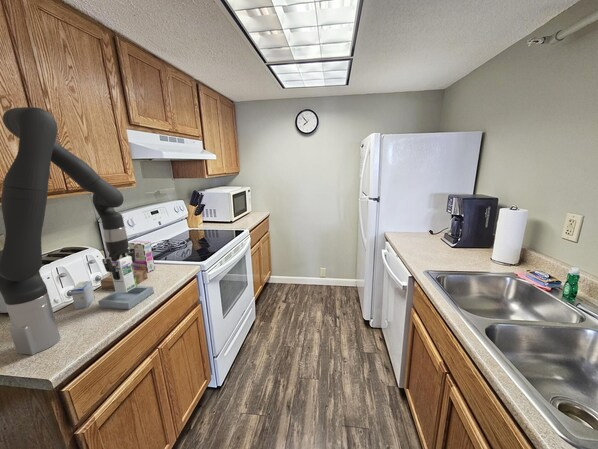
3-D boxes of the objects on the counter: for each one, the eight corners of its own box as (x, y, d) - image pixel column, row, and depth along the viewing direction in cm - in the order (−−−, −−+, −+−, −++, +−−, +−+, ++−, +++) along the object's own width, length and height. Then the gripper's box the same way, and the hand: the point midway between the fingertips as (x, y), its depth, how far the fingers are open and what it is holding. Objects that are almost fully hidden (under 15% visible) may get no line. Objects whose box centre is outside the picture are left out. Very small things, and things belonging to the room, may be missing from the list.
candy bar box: (155, 269, 142) (151, 241, 138) (147, 273, 137) (143, 244, 133) (140, 267, 145) (136, 240, 142) (132, 270, 141) (127, 242, 137)
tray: (129, 309, 102) (128, 303, 101) (99, 307, 104) (98, 301, 104) (153, 292, 116) (152, 286, 115) (126, 291, 118) (125, 285, 117)
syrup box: (126, 292, 105) (119, 260, 102) (114, 291, 107) (107, 259, 103) (137, 286, 111) (131, 255, 107) (126, 285, 112) (120, 254, 109)
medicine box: (83, 300, 110) (78, 282, 108) (95, 298, 112) (91, 280, 110) (75, 309, 103) (70, 290, 101) (88, 307, 105) (83, 288, 103)
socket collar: (126, 290, 118) (125, 281, 117) (102, 289, 120) (100, 280, 119) (147, 278, 131) (146, 270, 130) (124, 276, 133) (123, 268, 132)
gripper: (108, 244, 96) (117, 284, 100) (137, 233, 110) (144, 269, 114) (91, 243, 97) (100, 283, 101) (122, 233, 111) (129, 269, 115)
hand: (123, 276), depth 107 cm, fingers closed on syrup box, 5 cm apart
